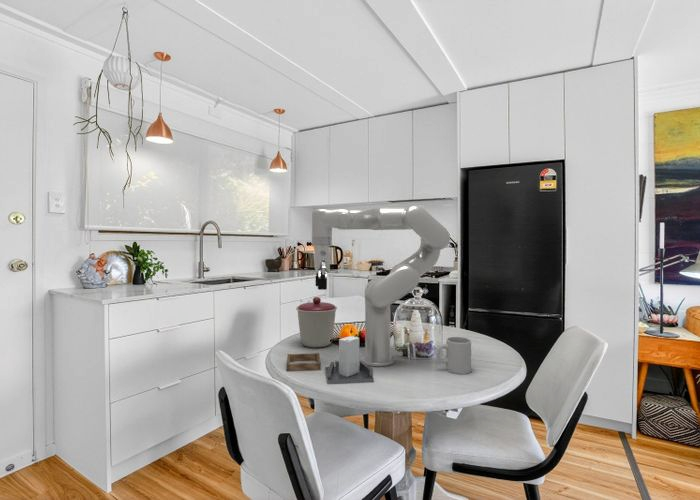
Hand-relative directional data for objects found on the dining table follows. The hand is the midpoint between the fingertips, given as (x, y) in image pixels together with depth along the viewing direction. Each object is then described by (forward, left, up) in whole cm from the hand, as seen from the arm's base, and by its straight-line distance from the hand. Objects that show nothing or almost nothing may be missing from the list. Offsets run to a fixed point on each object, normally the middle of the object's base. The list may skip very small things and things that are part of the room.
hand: (320, 287), depth 143 cm
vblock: (-9, +15, -28) cm, 33 cm away
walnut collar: (+6, +2, -28) cm, 29 cm away
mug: (-47, +14, -29) cm, 56 cm away
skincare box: (-9, +17, -27) cm, 33 cm away
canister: (0, -25, -29) cm, 38 cm away
